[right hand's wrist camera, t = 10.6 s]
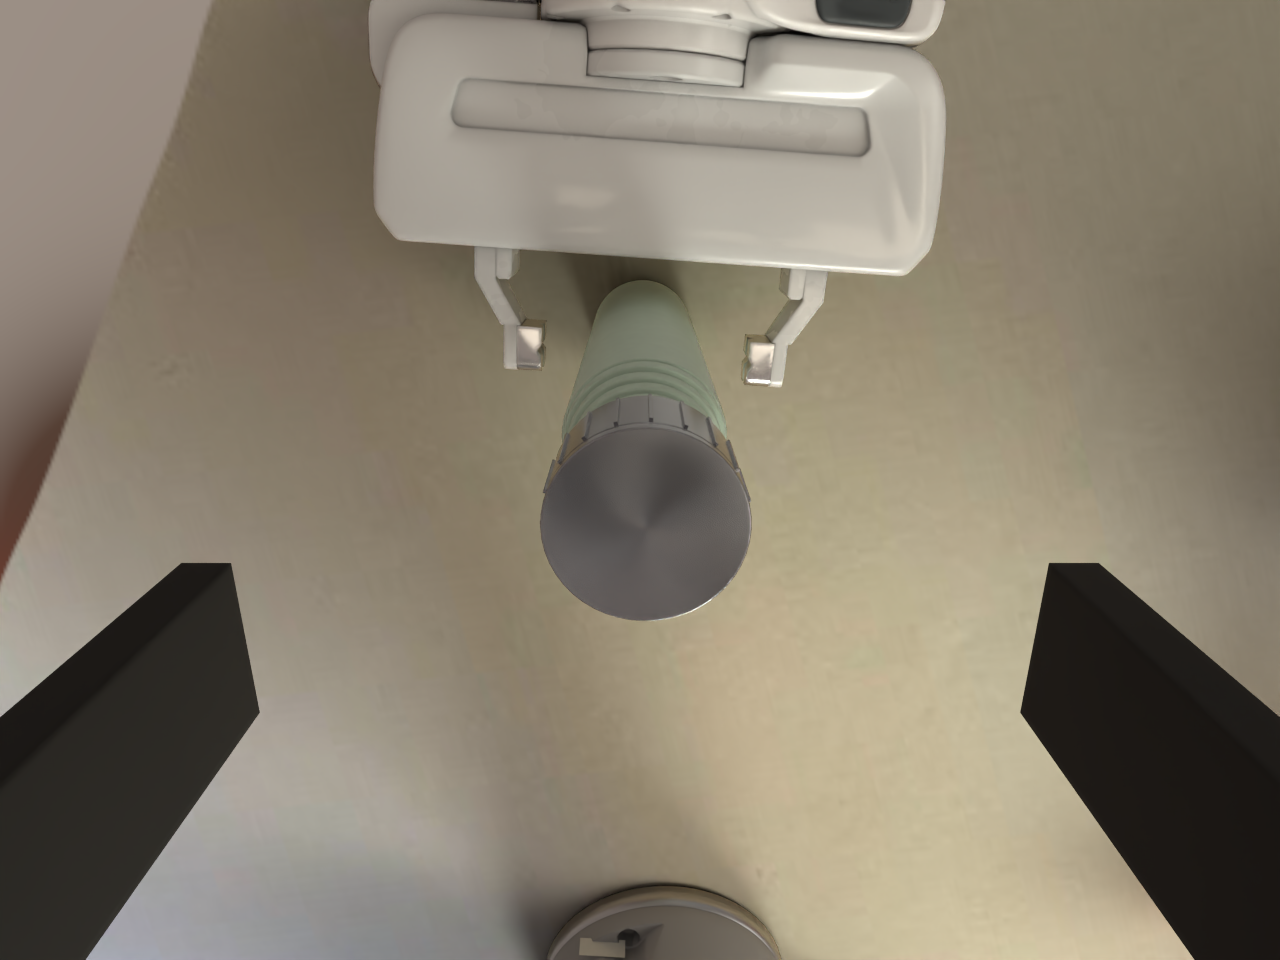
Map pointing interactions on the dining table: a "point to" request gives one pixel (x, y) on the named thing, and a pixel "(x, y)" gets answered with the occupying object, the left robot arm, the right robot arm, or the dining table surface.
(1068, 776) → the right robot arm
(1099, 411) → the dining table surface
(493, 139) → the left robot arm
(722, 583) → the cap
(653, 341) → the bottle
